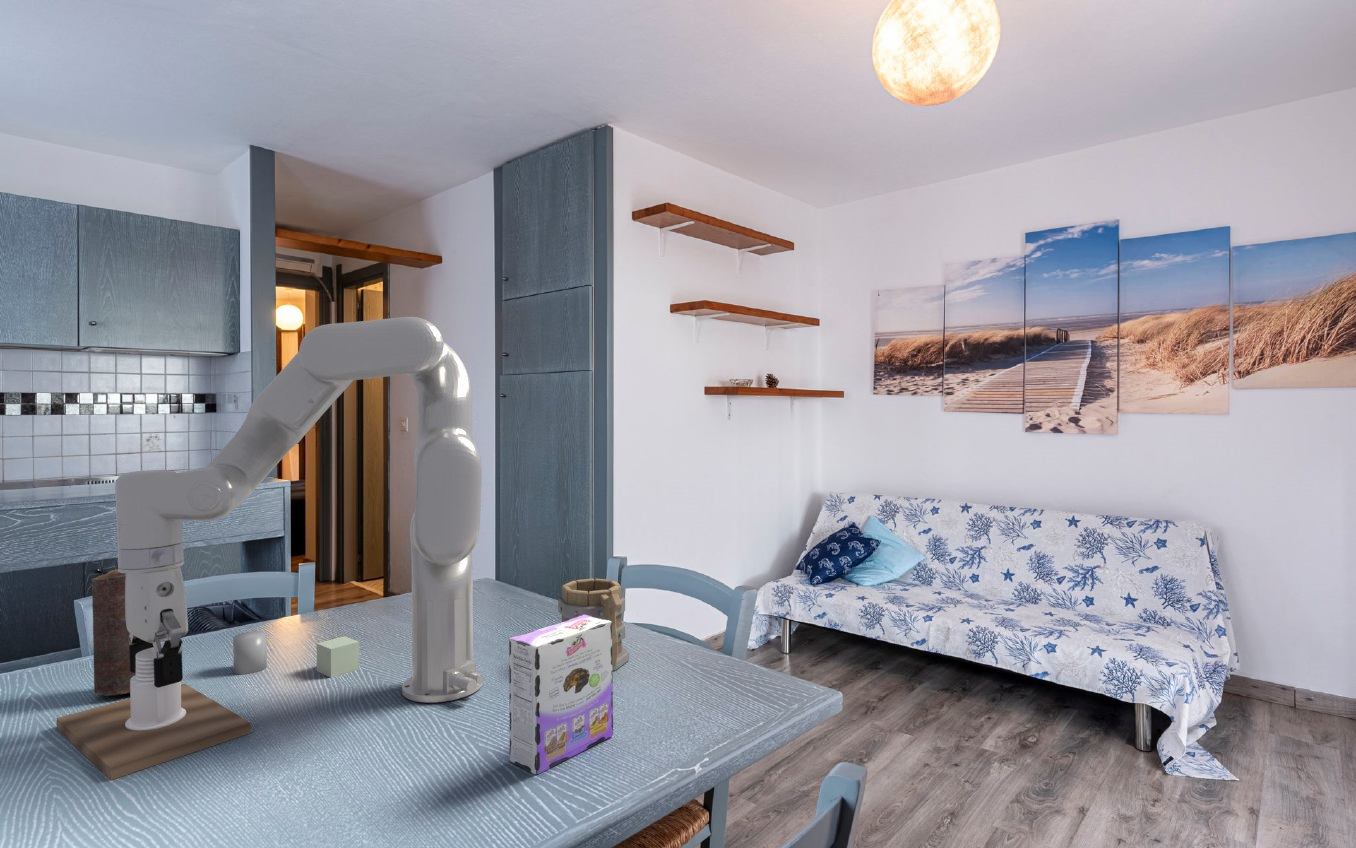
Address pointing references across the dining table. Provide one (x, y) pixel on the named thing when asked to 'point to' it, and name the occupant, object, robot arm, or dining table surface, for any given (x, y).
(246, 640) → the grey rounded cylinder
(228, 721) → the walnut board
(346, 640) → the sage block
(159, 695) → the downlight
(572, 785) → the dining table surface
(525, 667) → the candy box
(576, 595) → the tankard
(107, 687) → the brown textured cylinder
